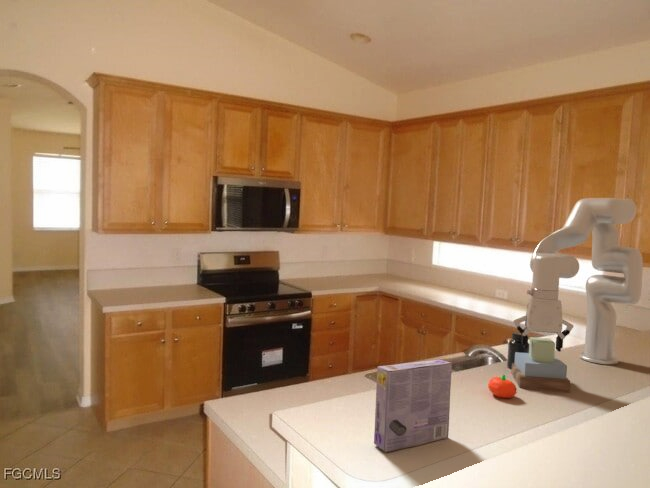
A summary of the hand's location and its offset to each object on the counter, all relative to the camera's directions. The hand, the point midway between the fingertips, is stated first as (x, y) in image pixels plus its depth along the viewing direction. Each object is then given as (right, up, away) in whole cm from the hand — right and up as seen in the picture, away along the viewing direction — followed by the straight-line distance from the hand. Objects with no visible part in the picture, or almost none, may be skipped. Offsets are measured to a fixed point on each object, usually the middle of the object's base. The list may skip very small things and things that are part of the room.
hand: (541, 349), depth 152 cm
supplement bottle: (-2, -10, +15) cm, 18 cm away
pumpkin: (-17, -11, -12) cm, 24 cm away
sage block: (0, -3, 0) cm, 3 cm away
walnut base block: (-1, -11, +1) cm, 11 cm away
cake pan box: (-48, -12, -43) cm, 65 cm away
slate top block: (0, -7, +1) cm, 7 cm away
